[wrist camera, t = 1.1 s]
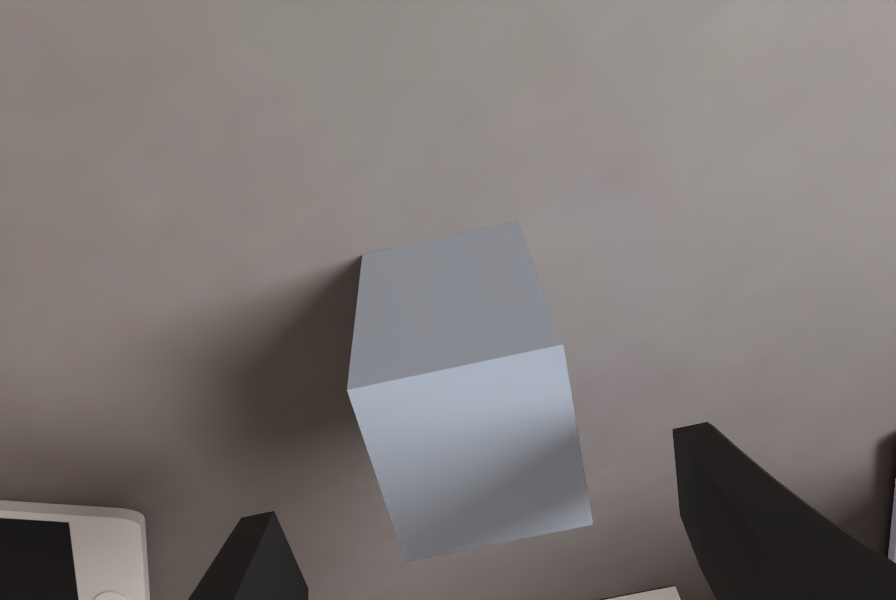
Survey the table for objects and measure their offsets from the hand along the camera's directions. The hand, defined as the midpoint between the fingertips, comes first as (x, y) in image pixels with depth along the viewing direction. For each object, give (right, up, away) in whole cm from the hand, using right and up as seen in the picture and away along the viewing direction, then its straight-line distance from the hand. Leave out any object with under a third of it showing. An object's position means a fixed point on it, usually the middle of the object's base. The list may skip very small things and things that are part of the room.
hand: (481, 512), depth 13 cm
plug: (0, +3, +6) cm, 7 cm away
